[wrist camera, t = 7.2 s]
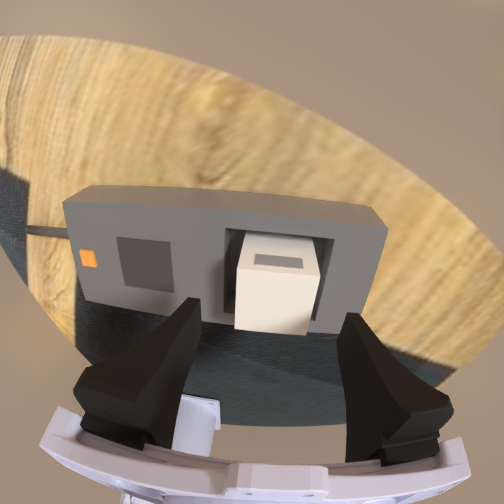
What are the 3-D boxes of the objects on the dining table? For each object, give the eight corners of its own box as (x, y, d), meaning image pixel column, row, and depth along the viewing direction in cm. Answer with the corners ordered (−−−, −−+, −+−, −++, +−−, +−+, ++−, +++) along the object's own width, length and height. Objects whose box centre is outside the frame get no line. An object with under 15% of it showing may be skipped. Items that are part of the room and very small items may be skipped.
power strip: (38, 263, 23) (17, 283, 20) (21, 187, 19) (-7, 202, 16) (345, 303, 22) (353, 336, 18) (371, 207, 18) (389, 230, 14)
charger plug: (244, 279, 20) (234, 328, 16) (247, 225, 18) (236, 267, 14) (301, 284, 20) (305, 335, 15) (310, 231, 18) (320, 275, 14)
